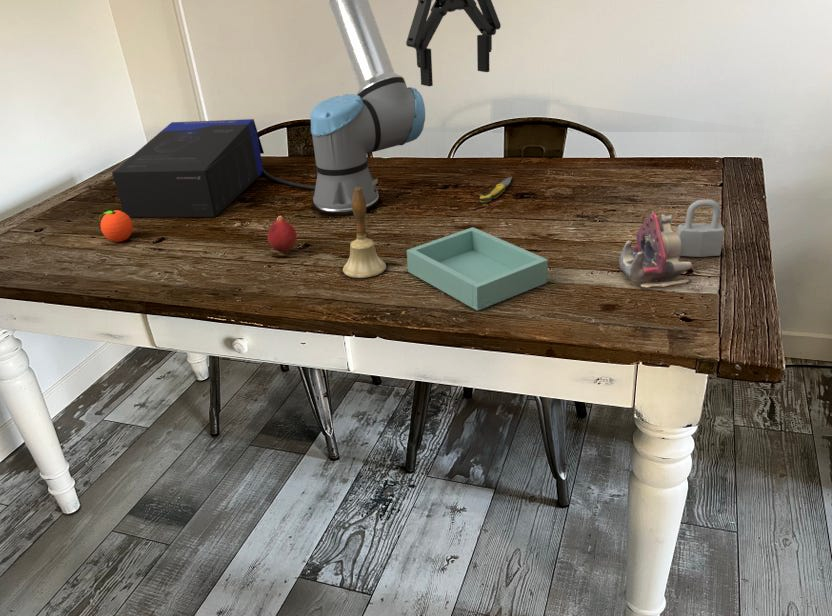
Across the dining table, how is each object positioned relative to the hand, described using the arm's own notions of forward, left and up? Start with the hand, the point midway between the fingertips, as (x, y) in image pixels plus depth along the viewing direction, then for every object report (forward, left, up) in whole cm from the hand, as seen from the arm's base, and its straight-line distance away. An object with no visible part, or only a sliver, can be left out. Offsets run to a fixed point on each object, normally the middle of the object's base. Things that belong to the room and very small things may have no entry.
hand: (455, 78), depth 143 cm
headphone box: (-68, -24, -29) cm, 78 cm away
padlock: (+46, +12, -29) cm, 56 cm away
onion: (-17, -34, -29) cm, 48 cm away
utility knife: (-4, +18, -29) cm, 34 cm away
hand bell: (+2, -29, -29) cm, 41 cm away
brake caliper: (+44, 0, -29) cm, 53 cm away
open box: (+21, -19, -29) cm, 40 cm away
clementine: (-55, -53, -29) cm, 82 cm away
